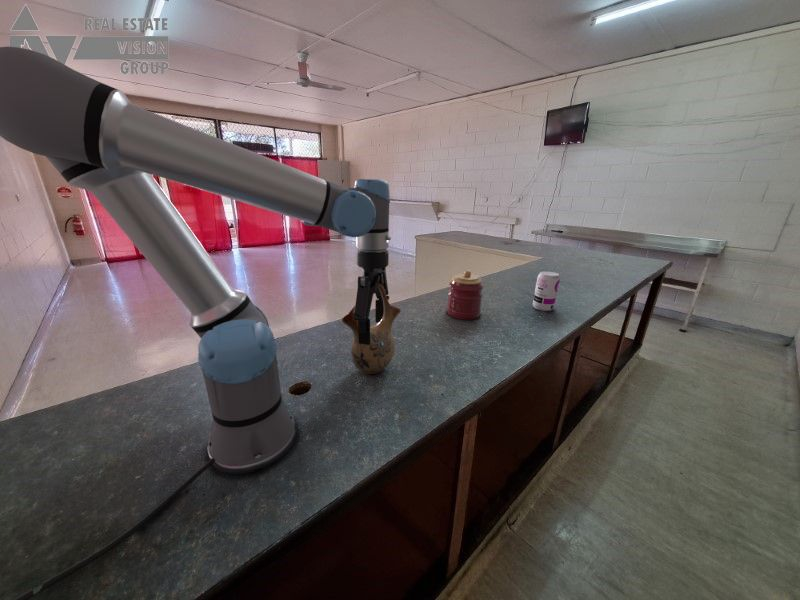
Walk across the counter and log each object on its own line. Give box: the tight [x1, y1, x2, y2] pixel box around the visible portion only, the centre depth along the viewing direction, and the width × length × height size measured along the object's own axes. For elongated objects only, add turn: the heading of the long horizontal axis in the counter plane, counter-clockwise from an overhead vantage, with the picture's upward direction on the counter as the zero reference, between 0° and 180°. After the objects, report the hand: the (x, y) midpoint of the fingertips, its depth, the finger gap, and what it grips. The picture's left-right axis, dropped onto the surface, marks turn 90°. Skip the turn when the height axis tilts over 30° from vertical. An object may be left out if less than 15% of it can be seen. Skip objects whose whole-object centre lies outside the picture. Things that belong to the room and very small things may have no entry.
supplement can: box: [532, 270, 561, 312], centre depth 130 cm, size 8×8×15 cm
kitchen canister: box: [446, 269, 484, 321], centre depth 121 cm, size 13×13×18 cm
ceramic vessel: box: [341, 283, 402, 375], centre depth 81 cm, size 16×9×25 cm, turn 123°
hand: (373, 332), depth 81 cm, fingers open, 12 cm apart
